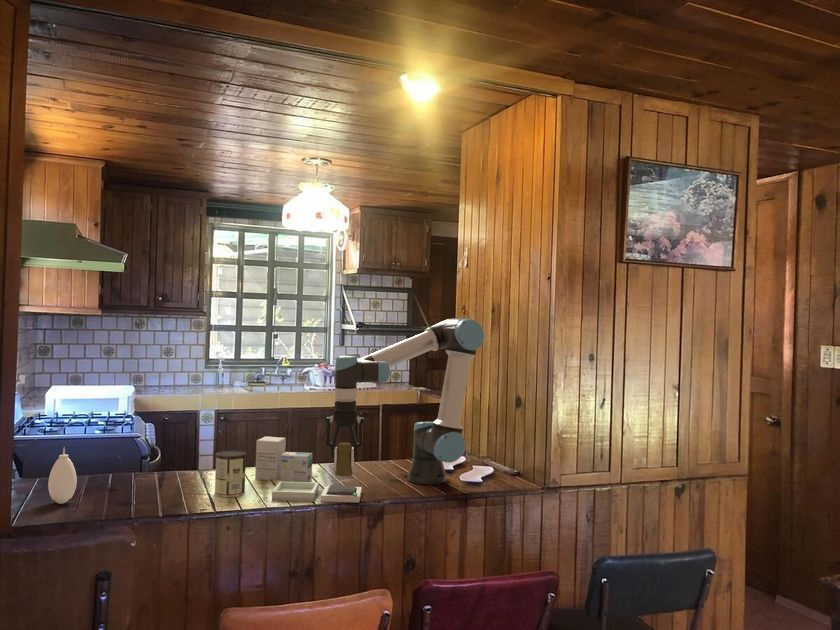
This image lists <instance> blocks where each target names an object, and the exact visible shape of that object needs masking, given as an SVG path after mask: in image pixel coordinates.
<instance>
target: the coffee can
mask: <svg viewBox="0 0 840 630" xmlns="http://www.w3.org/2000/svg"><path fill="white" fill-rule="evenodd" d="M246 462H247V452H246V451H243V450H222V451H217V452H216V453H215V475H214V476H215V477H214V479H215V481H214V482H215V483H214V496H215V497H219V498H236V497H241V496H243V495H245V493H246V491H245V490H246V470H247V469H246V466H247V465H246V464H247V463H246Z"/></svg>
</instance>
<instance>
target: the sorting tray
mask: <svg viewBox="0 0 840 630" xmlns="http://www.w3.org/2000/svg"><path fill="white" fill-rule="evenodd" d="M319 484H320V483H319V482H312V481H310V482H282V481H280V480H279V482H278V483H277V484H276V485H275V487H274V488H273V490H272V492H271V501H277V502H280V501H283V502H285V501H286V502H311V503H312V502H314V501H315V499H316V497H317V495H318V493H319V489H320V488H319V486H320V485H319Z"/></svg>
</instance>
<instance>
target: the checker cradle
mask: <svg viewBox="0 0 840 630" xmlns="http://www.w3.org/2000/svg"><path fill="white" fill-rule="evenodd" d="M329 488H330V485H325V486H324V488H323V491H322V493H321V494H320V502H325V503H326V502H329V503H331V502H332V503H333V502H334V503H360V500H361V497H362V486H356V491H355V493H353V495H328V490H329Z"/></svg>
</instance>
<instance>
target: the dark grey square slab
mask: <svg viewBox="0 0 840 630" xmlns="http://www.w3.org/2000/svg"><path fill="white" fill-rule="evenodd" d="M329 486H330V488H329V490H328V495H353V493H355V491H356V487H357V485H338V484H337V485H334V484H330V485H329Z"/></svg>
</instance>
